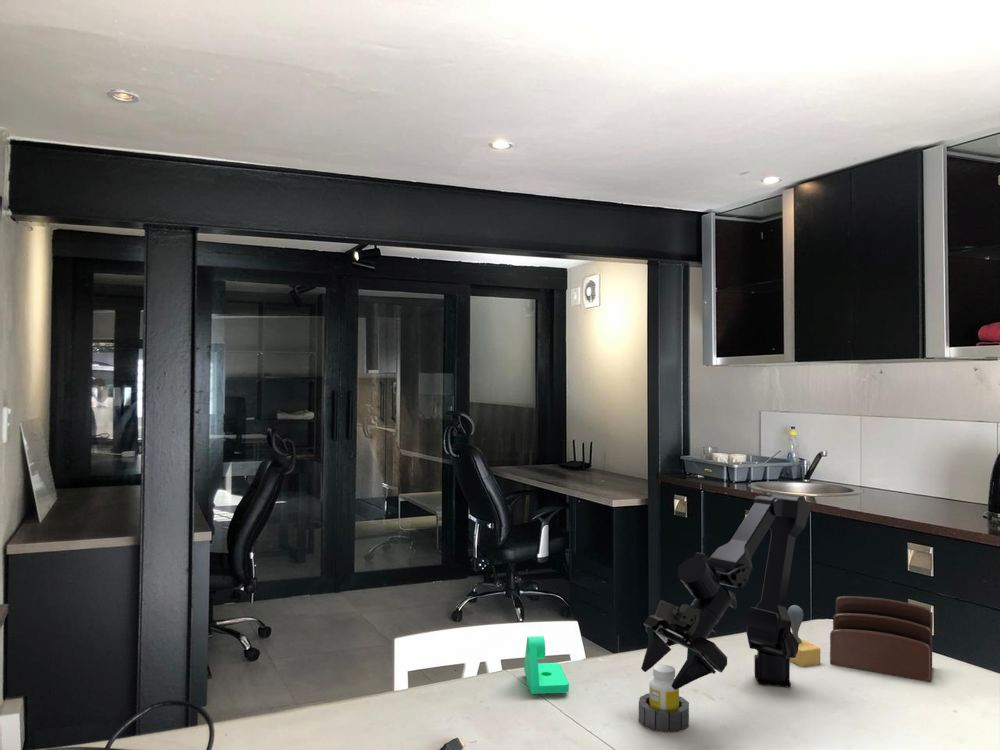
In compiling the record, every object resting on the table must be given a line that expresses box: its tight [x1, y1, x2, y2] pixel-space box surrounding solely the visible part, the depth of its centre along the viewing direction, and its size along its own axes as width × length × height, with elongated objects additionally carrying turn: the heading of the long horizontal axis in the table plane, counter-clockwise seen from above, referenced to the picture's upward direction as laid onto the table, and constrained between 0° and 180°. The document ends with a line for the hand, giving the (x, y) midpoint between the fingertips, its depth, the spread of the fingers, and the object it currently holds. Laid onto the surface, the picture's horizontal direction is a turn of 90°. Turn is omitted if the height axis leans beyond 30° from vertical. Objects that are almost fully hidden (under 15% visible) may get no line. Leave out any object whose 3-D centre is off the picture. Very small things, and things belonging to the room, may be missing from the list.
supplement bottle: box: [648, 664, 680, 710], centre depth 144 cm, size 5×5×10 cm
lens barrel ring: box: [638, 692, 690, 734], centre depth 144 cm, size 9×9×4 cm
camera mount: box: [523, 635, 570, 695], centre depth 161 cm, size 12×8×10 cm, turn 5°
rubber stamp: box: [787, 604, 821, 668], centre depth 178 cm, size 10×6×12 cm, turn 20°
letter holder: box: [829, 595, 933, 682], centre depth 173 cm, size 10×20×14 cm, turn 59°
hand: (657, 679), depth 144 cm, fingers open, 9 cm apart
